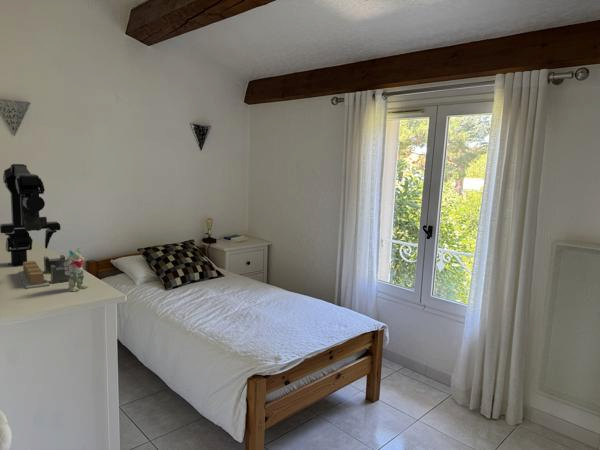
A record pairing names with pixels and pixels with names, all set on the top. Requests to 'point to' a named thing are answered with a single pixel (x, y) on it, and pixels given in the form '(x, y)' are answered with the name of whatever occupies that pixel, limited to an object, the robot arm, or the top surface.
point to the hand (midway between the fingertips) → (31, 249)
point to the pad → (29, 283)
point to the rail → (33, 273)
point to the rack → (56, 269)
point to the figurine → (74, 270)
